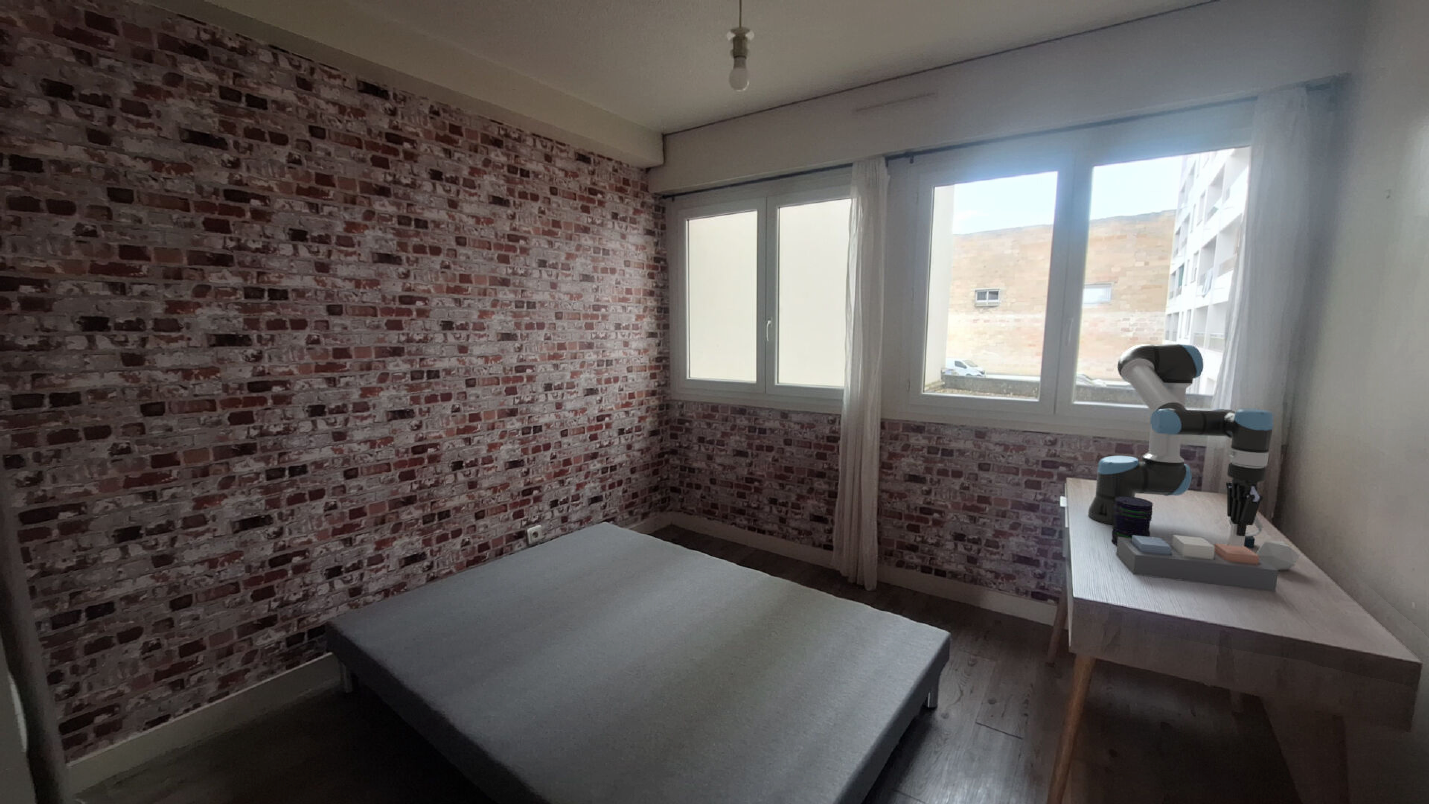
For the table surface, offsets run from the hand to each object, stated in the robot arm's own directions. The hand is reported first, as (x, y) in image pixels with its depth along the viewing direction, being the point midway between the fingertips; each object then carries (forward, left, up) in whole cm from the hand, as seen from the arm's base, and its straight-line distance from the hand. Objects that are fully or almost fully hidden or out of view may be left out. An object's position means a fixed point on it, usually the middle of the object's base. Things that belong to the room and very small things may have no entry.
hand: (1236, 544), depth 153 cm
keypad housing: (0, -10, -9) cm, 14 cm away
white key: (0, -10, -5) cm, 11 cm away
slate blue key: (0, -20, -6) cm, 21 cm away
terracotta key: (0, 0, -6) cm, 6 cm away
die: (-11, +15, -10) cm, 21 cm away
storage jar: (-18, -19, -10) cm, 28 cm away
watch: (-30, +16, -10) cm, 35 cm away
